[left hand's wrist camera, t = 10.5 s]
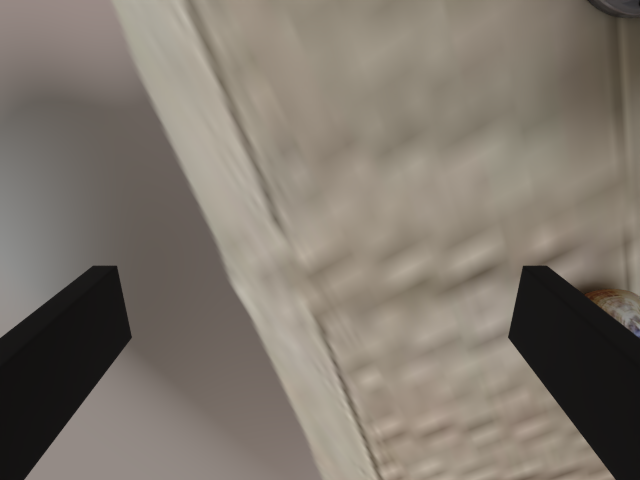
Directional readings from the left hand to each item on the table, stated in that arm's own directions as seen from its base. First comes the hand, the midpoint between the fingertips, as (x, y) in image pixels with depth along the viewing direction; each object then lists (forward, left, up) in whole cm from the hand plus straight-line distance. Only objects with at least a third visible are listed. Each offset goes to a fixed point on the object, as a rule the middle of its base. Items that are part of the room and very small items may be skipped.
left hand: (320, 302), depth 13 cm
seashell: (-14, +37, -33) cm, 52 cm away
